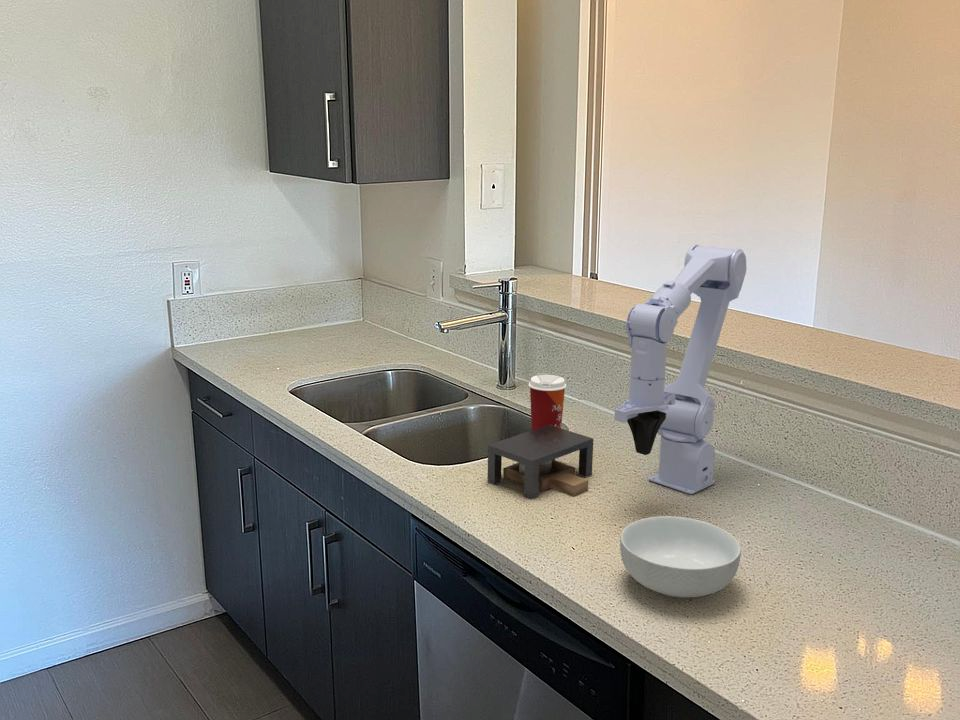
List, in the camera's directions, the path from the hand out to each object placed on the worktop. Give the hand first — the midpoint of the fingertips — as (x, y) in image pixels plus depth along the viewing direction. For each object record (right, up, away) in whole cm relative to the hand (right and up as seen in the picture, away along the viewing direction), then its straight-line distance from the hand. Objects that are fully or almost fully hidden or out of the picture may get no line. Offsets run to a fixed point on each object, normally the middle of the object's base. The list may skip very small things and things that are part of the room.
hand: (643, 452), depth 156 cm
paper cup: (-14, -2, +32) cm, 35 cm away
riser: (-17, -6, +15) cm, 23 cm away
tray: (-15, -7, +13) cm, 21 cm away
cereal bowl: (+1, -17, -24) cm, 29 cm away
